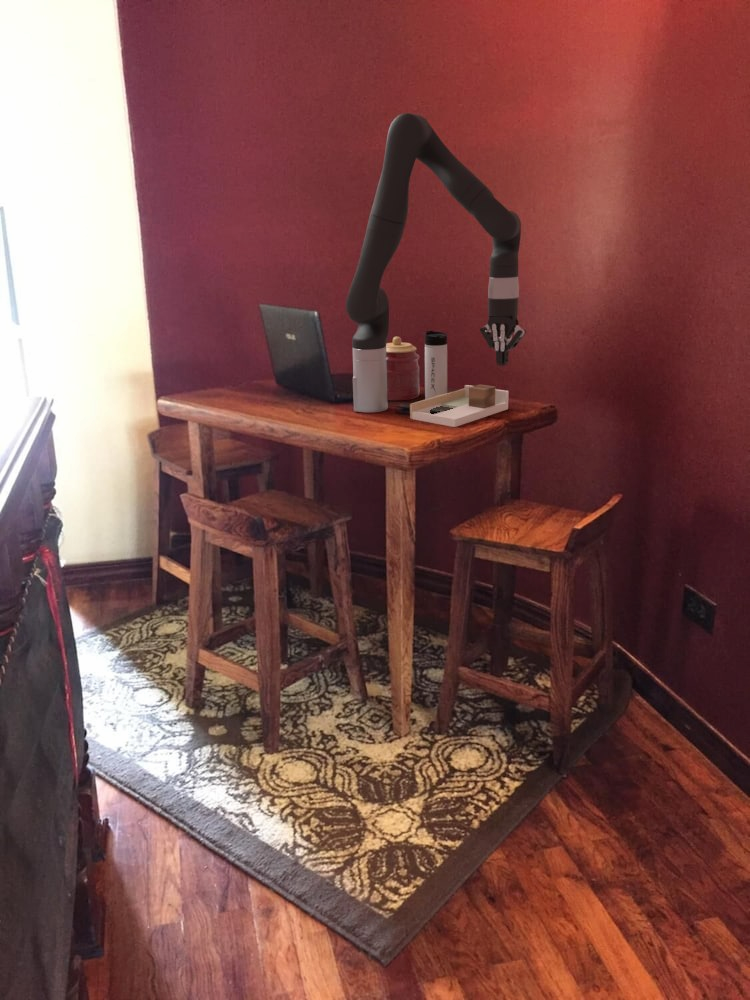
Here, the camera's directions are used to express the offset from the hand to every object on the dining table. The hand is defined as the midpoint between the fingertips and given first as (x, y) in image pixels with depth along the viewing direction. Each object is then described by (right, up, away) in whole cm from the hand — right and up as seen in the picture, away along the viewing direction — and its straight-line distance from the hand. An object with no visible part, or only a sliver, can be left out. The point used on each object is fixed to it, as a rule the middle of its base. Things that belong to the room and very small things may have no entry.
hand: (501, 365), depth 199 cm
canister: (-26, -4, +32) cm, 41 cm away
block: (-4, -9, +9) cm, 14 cm away
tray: (-10, -11, +10) cm, 18 cm away
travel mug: (-15, -7, +23) cm, 28 cm away
